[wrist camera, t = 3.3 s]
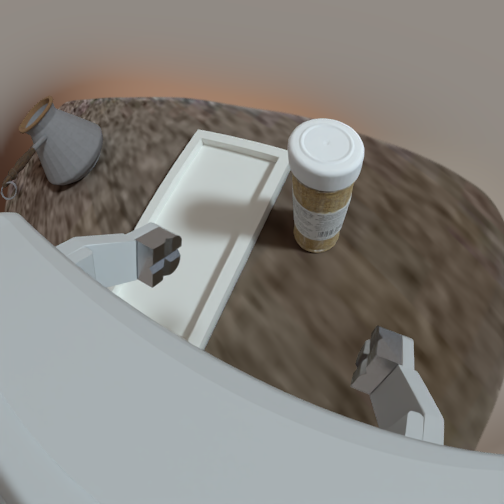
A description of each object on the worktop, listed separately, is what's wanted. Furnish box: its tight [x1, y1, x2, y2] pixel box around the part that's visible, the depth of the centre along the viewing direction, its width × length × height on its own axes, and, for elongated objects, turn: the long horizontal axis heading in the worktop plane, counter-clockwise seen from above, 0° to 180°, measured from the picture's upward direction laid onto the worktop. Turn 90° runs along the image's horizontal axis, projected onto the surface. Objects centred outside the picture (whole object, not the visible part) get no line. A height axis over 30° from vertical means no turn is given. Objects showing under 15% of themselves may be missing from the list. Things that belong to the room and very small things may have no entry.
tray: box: [107, 130, 291, 351], centre depth 28 cm, size 23×12×2 cm, turn 155°
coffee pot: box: [1, 96, 103, 200], centre depth 28 cm, size 21×12×15 cm, turn 22°
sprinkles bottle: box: [288, 118, 364, 253], centre depth 21 cm, size 5×5×14 cm
